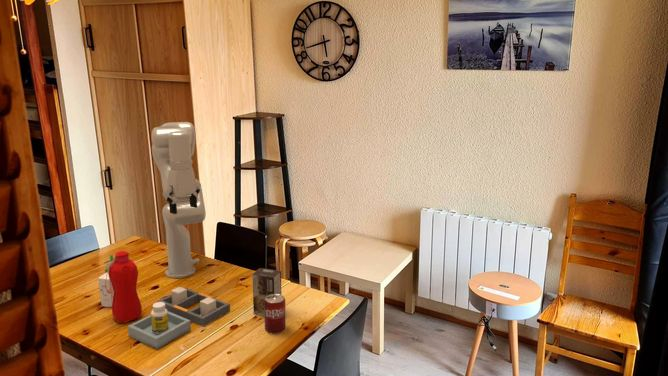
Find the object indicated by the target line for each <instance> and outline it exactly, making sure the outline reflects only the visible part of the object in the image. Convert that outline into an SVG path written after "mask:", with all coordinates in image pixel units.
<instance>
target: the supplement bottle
mask: <svg viewBox="0 0 668 376" xmlns="http://www.w3.org/2000/svg"><path fill="white" fill-rule="evenodd" d="M150 315H151V321H152V332H153V333H155V334H162V333H164V332H166V331H167V330H168V311H167V309H165V303H163V302H158V301H157V302H154V303H153V304H152V310H151V312H150Z"/></svg>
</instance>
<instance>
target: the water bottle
mask: <svg viewBox="0 0 668 376" xmlns="http://www.w3.org/2000/svg"><path fill="white" fill-rule="evenodd" d="M130 255H131V254H130V253H129V252H128V251H125V250H120V251H117V252H116V253H114V257H115V260H114V262H113V263H112V264H111V265H110V266H109V270H108V271H109V278H110V283H112V287H113V290H114V296H113V302H112V307H111V312H112V313H111V314H112V317H113V318H114V320H115V321H116V322H118V323H122V324H124V323H127V322H131V321H135V320H137V319H138V320H139V318H140V317H142V313H143V309H142V304H141V301H140V298H139V294H138V292H137V285H138V277H139V271H138V266H137V264H136V263H135V262H134V261H133V260H132V259H129V256H130ZM107 273H108V272H107ZM106 278H107V275H106ZM105 287H106V281H105ZM110 289H111V288H110ZM106 290H107V289H106ZM107 291H110V290H107Z"/></svg>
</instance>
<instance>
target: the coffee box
mask: <svg viewBox="0 0 668 376" xmlns="http://www.w3.org/2000/svg"><path fill="white" fill-rule="evenodd" d="M251 278H252V280H251V282H252V304H253V315H257V316H263V317H264V299H265V298H266V296H268V295H271V294H280V295H282V271H281V270H278V269H277V270H276V269H270V268H262V267H259V268H258V269H256V271H254V273H252V274H251Z"/></svg>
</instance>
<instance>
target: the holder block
mask: <svg viewBox="0 0 668 376" xmlns="http://www.w3.org/2000/svg"><path fill="white" fill-rule="evenodd" d="M183 288H184V289H187V298H186V299H184V300H182V301H180V302H178V303H176V304H174V305H172V296H171V294H170V295H167V296H165V297H163V298H160V299H159V300H157V302H163V303H165V309H167V311H169V312H171V313H174V314H176V315H178V316H181V317H183V318H186V319H188V320H190V322H192V323H193V324H196V325H199V326H202V327H205V326H207V325H208V324H211V323H212V322H214V321H215V320H218V319H219V318H220V317H223V316H224V315H227V313H229V312H230V311H231V306H230V305H231V304H230V303H228V302H226V301H223V300H220V299H218V298H217V299H216V298H214V297H213V296H211V295H209V294H205V293H202V292H198V291H195V290H192V289H190V288H186V287H183ZM207 297H209V298H212V299H214V300H216V310H214V311H212V312H210V313H208V314H207V315H205V316H201V311H200V304H199V305H197V306H196V307H193V308H191V309H187V308H188V307H191V306H193V305H194V304H196V303H198V302H199V303H200V301H202V300H204V299H205V298H207Z"/></svg>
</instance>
